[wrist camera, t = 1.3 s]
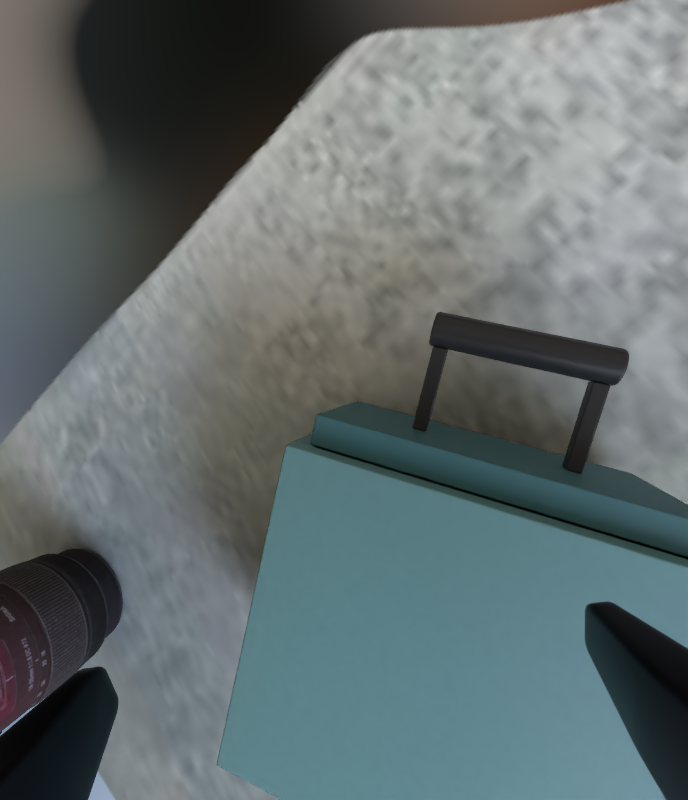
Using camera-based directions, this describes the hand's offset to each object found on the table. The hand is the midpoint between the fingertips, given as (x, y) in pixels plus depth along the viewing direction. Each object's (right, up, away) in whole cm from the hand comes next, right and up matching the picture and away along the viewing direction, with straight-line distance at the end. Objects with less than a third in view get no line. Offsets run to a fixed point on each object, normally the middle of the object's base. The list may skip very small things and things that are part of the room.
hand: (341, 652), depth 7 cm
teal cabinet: (+5, -5, +14) cm, 16 cm away
